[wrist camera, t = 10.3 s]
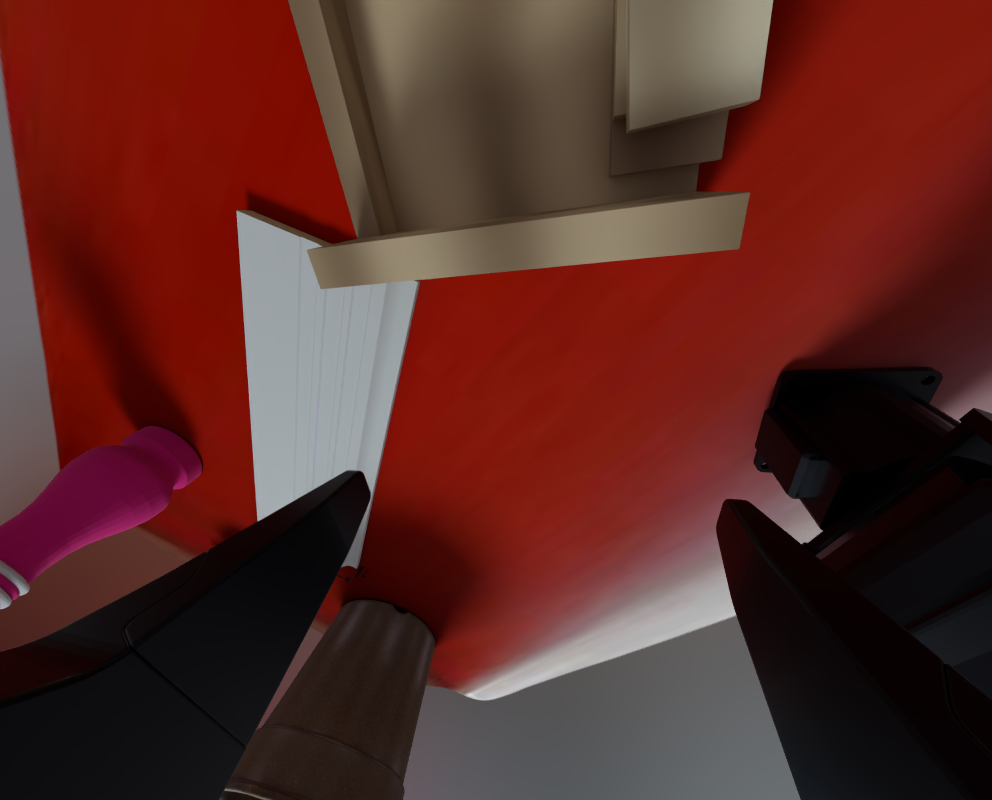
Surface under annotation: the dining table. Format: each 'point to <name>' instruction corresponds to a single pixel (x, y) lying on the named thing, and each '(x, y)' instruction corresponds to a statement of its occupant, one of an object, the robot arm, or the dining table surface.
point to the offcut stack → (681, 78)
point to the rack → (487, 143)
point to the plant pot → (344, 714)
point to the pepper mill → (94, 503)
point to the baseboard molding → (316, 367)
